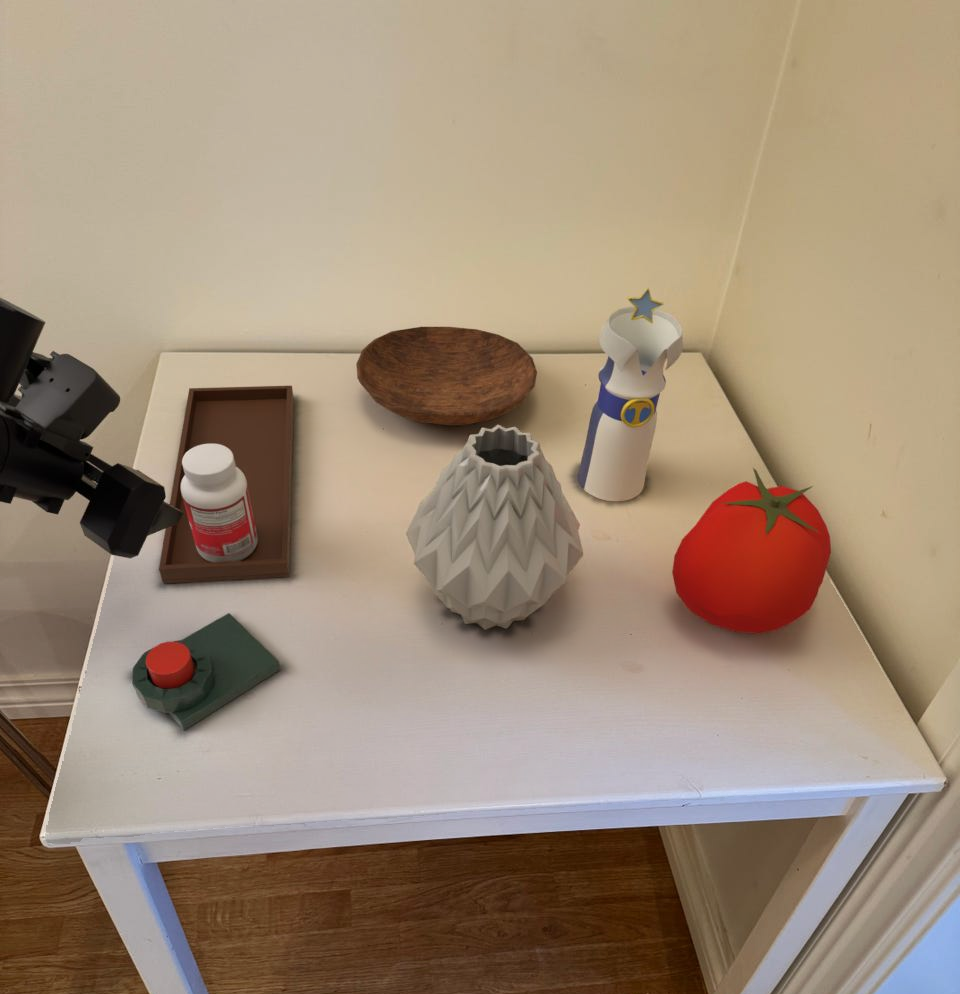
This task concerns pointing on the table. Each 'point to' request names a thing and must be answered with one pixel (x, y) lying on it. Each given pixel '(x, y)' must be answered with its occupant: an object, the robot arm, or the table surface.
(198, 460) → the pill bottle
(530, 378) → the bowl
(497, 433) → the vase
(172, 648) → the button
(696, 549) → the tomato
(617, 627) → the table surface
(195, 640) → the block
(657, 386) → the white toy figure
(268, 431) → the brown rectangular tray
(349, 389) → the table surface
